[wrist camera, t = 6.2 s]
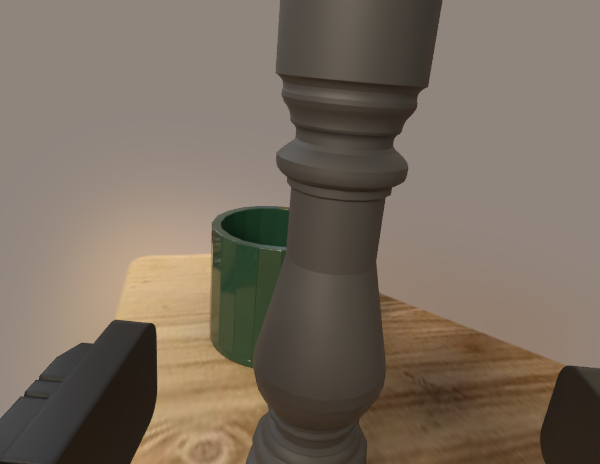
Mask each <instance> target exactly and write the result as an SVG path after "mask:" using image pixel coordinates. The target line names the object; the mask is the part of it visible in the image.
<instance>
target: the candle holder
mask: <svg viewBox="0 0 600 464" xmlns="http://www.w3.org/2000/svg"><path fill="white" fill-rule="evenodd" d="M441 6H442V0H280V13H279V29H278V45H277V60H276V61H277V62H276V73H277V74H278V75H279V76H280V77H281V78H282V80H283V89H282V97H283V100H284V102H285V103H286V105H287V106H288V108H289V111H290V115H291V118H290V119H291V122H292V123H293V124H294V125H295V127H296V138H295V139H294V140H292V141H291V142H289V143H288V144H287V145H285V146H284V147H282V148H281V149H280V150H279V151H278V152H277V155H276V162H277V166H278V168H279V169H280V170H281V172H282V173H283V174H285V175H286V176H287V182H288V184H289V185H290V186H291V199H290V210H289V222H288V235H287V248H286V255H285V258H284V261H283V264H282V267H281V270H280V273H279V276H278V279H277V282H276V285H275V289H274V292H273V295H272V298H271V301H270V304H269V307H268V310H267V313H266V316H265V319H264V322H263V325H262V328H261V331H260V334H259V337H258V340H257V343H256V346H255V349H254V352H253V367H254V372H255V377H256V382H257V386H258V390H259V391H260V393H261V395H262V397H263V398H264V400H265V401H266V403H267V404H268V408H269V411H268V412H267V413H266V414H265V415H264V416H263V417H262V418H261V419H260V420H259V422H258V425H257V427H256V430H255V433H254V435H253V439H252V440H253V444H252V447H251V450H250V452H249V455H248V458H247V460H246V464H367V463H366V452H367V441H366V439H365V437H364V435H363V432H362V430H361V428H360V426H359V424H358V422H359V418H360V417H361V416H362V415H363V414H364V413H365V412H366V411H367V410H368V409H369V408H370V406H371V405H372V404H373V403H374V401H375V400H376V399H377V397H378V396H379V394H380V392H381V390H382V388H383V385H384V379H385V351H384V341H383V331H382V321H381V310H380V300H379V289H378V278H377V267H376V258H377V251H378V245H379V238H380V231H381V224H382V218H383V211H384V204H385V198H386V197H387V196H389V195H391V190H392V187H394V186H397V185H399V184H401V183H402V182H404V181H405V179H406V176H407V171H408V164H407V162H406V160H405V159H404V158H403V157H402V156H401V155H400V154H399V153H398V152H397V151H396V150H395V148H394V147H393V141H394V138H395V137H396V136H397V135H399V134H400V133H401V132H402V128H403V125H404V123H405V122H406V120H407V119H408V118H409V117H410V116H411V115H412V114H413V113H414V111H415V110H416V108H417V96H418V94H419V93H420V92H421V91H422V90H423V89H424V88H427V87H428V84H429V78H430V71H431V66H432V59H433V53H434V47H435V42H436V36H437V30H438V24H439V18H440V11H441Z"/></svg>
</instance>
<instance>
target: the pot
mask: <svg viewBox="0 0 600 464" xmlns="http://www.w3.org/2000/svg"><path fill="white" fill-rule="evenodd" d="M289 210H290V208H288V207H277V206H255V207H243V208H239V209H234V210H230V211H227V212H224V213H222V214H220V215H218V216H217V217H216V218H215V219H214V221H213V222H212V245H211V287H210V338H211V342H212V343H213V345H214V347H215V348H216V349H217V351H219V352H220V353H221V354H222V355H223V356H225V357H226V358H228V359H230V360H232V361H234V362H236V363H239V364H241V365H244V366H248V367H252V368H254V367H253V352H254V349H255V346H256V343H257V340H258V337H259V334H260V331H261V328H262V325H263V322H264V319H265V316H266V313H267V310H268V307H269V304H270V301H271V298H272V295H273V292H274V289H275V285H276V282H277V279H278V276H279V273H280V270H281V267H282V264H283V261H284V258H285V255H286V248H287V235H288V222H289Z"/></svg>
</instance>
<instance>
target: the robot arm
mask: <svg viewBox="0 0 600 464" xmlns="http://www.w3.org/2000/svg"><path fill="white" fill-rule="evenodd" d="M156 397H157V340H156V328H155V326H154V324H152V323H143V322H133V321H123V320H114V321H112V322H111V323H110V324H109V326H108V327H107V328H106V329H105V330H104V332H103V333H102V334H101V335H100V336H99V338H98V339H97V340H96V341H95V343H94V344H89V343H81V344H79V345H77V346H75V347H74V348H72V349H70V350H68V351H67V352H65V353H63V354H62V355H60V356H58V357H57V358H56V359H55V360H54V361H53V362H52V363H51V364H50V365H49V366H48V367H47V369H46V370H45V371H44V372H43V373H42V374H41V375H40V376H39V380H35V382H34V383H33V384H32V385H31V386H30V387H29V388H28V389H27V390H26V391H25V394H24V397H20V398H19V399H18V400H17V401H16V402H15V403H14V404H13V406H12V407H11V408H10V409H9V410H8V411H7V412H6V413H5V414H4V415H3V416H2V418H1V419H0V464H130V463H131V461H132V459H133V457H134V455H135V453H136V451H137V449H138V447H139V444H140V442H141V440H142V438H143V436H144V434H145V432H146V430H147V428H148V426H149V424H150V421H151V419H152V416H153V412H154V409H155V404H156ZM540 443H541V450H542V455H543V458H544V461H545V463H546V464H600V369H599V368H589V367H578V366H565V367H564V368H563V369H562V370H561V371H560V373H559V375H558V378H557V381H556V384H555V388H554V391H553V394H552V397H551V400H550V403H549V407H548V410H547V413H546V416H545V419H544V422H543V425H542V429H541V436H540Z"/></svg>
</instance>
